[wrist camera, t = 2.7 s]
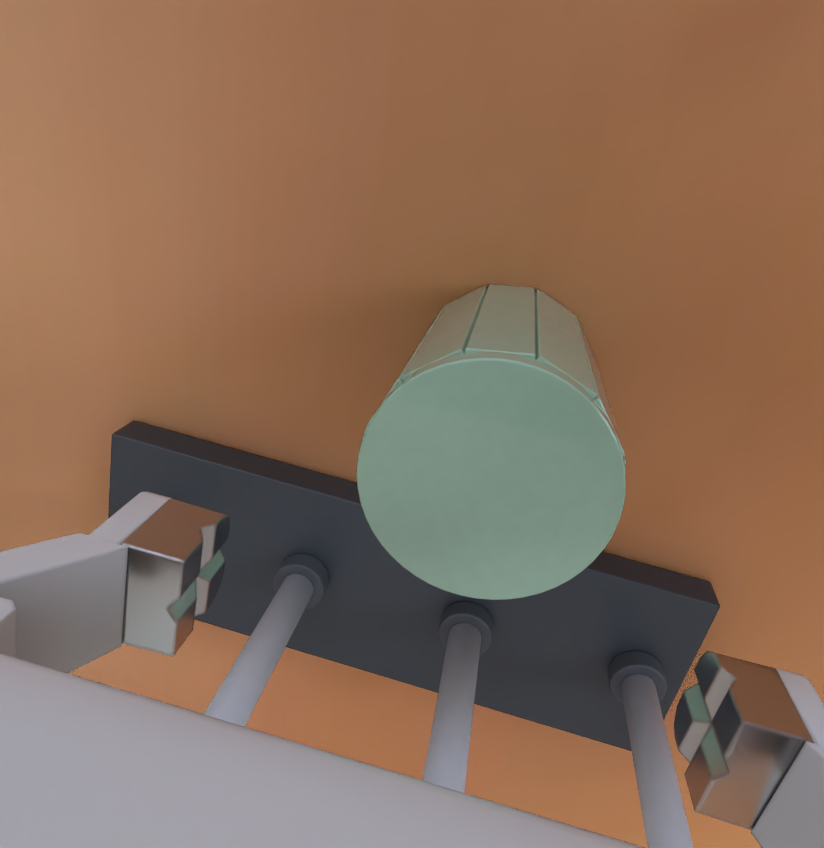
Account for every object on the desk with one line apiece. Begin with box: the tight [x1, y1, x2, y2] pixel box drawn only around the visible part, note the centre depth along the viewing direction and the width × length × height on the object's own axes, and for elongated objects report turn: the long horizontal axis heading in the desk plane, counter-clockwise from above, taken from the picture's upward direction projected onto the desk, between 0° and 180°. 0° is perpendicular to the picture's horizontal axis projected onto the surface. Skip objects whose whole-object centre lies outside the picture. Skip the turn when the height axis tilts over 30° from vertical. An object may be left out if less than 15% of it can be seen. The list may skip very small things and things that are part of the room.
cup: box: [357, 284, 626, 600], centre depth 19 cm, size 6×6×9 cm
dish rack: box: [108, 421, 720, 848], centre depth 21 cm, size 23×8×12 cm, turn 77°
